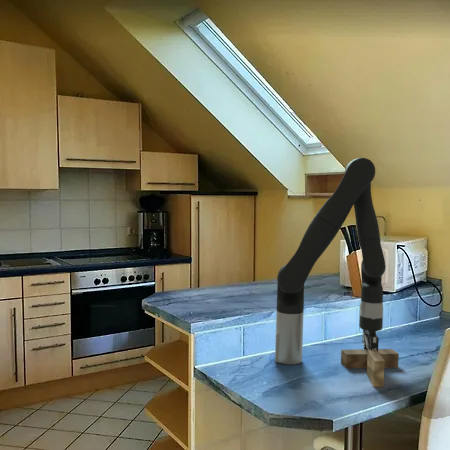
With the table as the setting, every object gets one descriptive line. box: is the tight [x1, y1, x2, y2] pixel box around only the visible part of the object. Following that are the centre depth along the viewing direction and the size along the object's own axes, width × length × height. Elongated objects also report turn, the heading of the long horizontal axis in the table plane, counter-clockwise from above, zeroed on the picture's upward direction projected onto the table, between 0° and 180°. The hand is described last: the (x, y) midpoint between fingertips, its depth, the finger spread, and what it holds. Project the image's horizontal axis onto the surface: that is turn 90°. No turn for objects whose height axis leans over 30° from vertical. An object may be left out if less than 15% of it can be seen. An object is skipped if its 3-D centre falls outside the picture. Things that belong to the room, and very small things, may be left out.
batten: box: [340, 348, 400, 369], centre depth 162 cm, size 18×5×5 cm, turn 96°
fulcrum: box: [366, 350, 385, 388], centre depth 148 cm, size 3×10×8 cm, turn 174°
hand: (369, 362), depth 162 cm, fingers open, 8 cm apart
